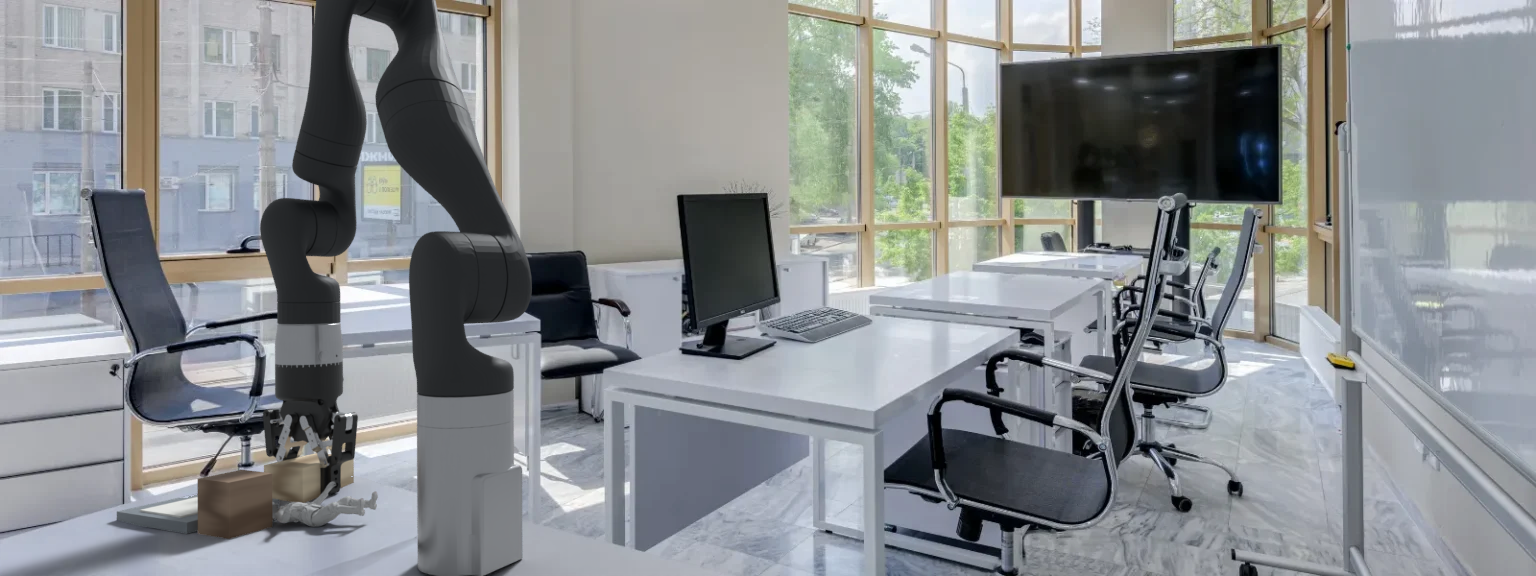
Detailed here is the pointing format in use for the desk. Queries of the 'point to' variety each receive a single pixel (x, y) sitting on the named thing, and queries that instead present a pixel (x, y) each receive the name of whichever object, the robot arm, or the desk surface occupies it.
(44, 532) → the desk surface
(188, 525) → the board
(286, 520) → the soldier figure
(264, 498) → the walnut cube
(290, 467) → the maple block
